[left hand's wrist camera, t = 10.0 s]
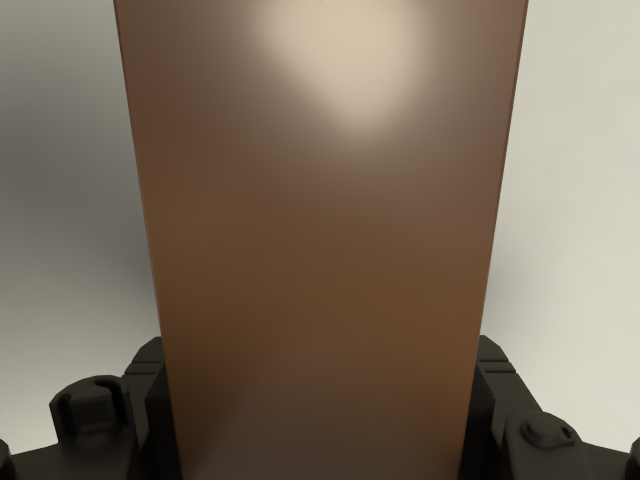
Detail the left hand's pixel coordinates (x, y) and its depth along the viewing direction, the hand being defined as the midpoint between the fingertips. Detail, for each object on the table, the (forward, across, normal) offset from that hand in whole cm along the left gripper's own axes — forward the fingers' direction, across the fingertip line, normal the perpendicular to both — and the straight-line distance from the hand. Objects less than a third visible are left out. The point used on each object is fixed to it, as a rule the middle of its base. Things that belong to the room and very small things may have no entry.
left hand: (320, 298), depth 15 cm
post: (+1, 0, -34) cm, 35 cm away
